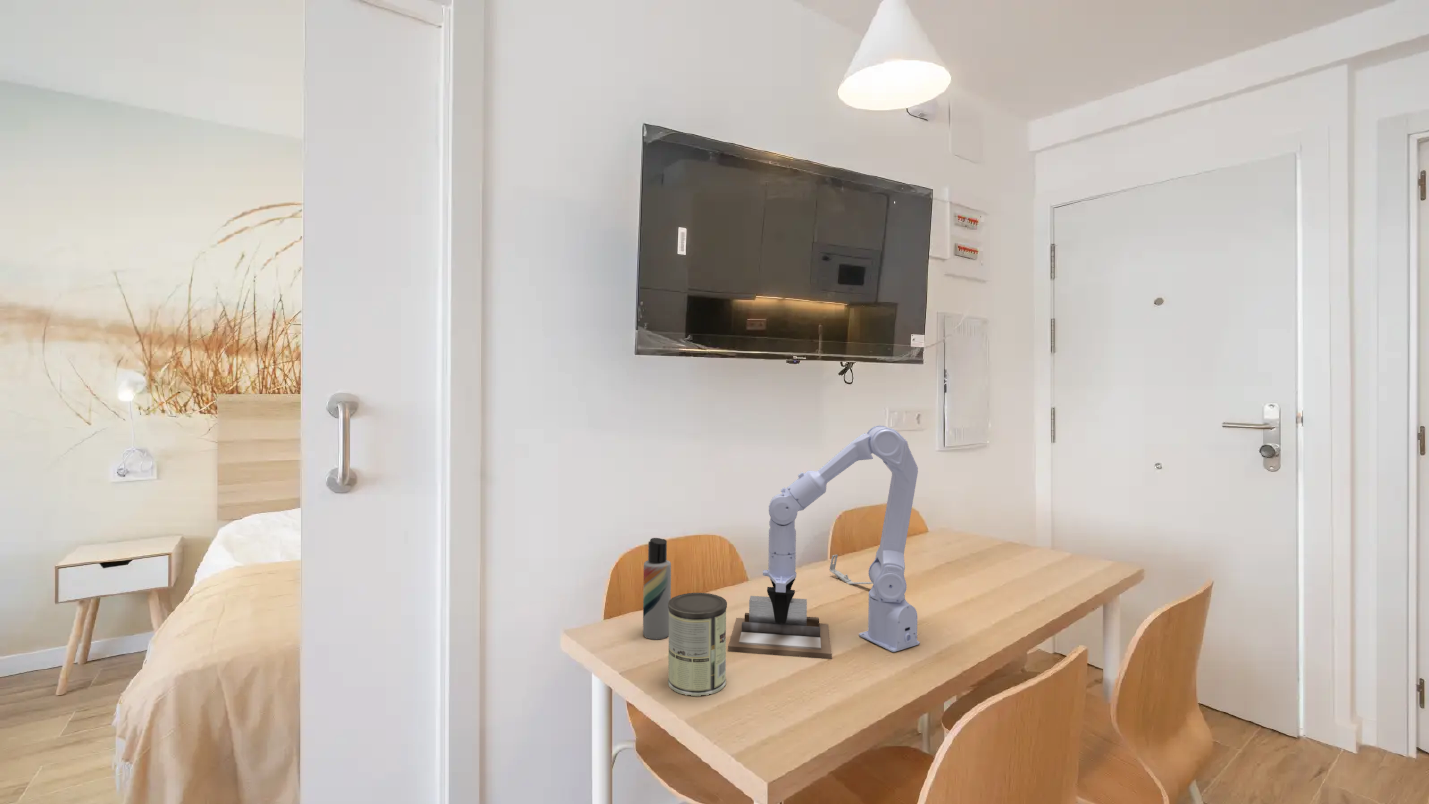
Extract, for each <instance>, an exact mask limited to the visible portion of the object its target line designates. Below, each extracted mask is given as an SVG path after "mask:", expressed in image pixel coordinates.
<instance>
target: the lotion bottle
mask: <svg viewBox="0 0 1429 804" xmlns="http://www.w3.org/2000/svg"><path fill="white" fill-rule="evenodd" d="M667 542H668V541H667V539H665V538H660V537H651V538H650V539H649V541H648V549H647V551H648V553H647V554H648V555H647V556H648V557H647V559H648V560H645V561H644V563H643V589H642V590H643V598H642V600H643V601H642V602H643V606H642V608H643V609H642V616H643V617H642V634H643V636H644V637H645V638H646V639H649V640H662V639H666V638H669V608H668V602H669V600H670V599H671V598H672V591H671V590H672V585H671V584H672V563H671V561H670V560H667V558H668V555H667V551H668V550H667V549H668V544H667Z"/></svg>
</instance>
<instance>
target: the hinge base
mask: <svg viewBox="0 0 1429 804" xmlns="http://www.w3.org/2000/svg"><path fill="white" fill-rule="evenodd" d="M829 627H830V626H829V623H821V622H820V617H817V616H807V626H796V625H781V624H767V623H752V622H749V612H745V613H744V617H736V618H735V622H734V625H733V628H732V632H731V635H730V639H729V643H728V644H727V645H728V646H727V652H732V653H733V652H735V653H736V652H737V653H747V654H748V653H750V654H759V653H760V654H761V655H772V654H773V655H774V656H776V655H777V656H786V655H788V656H789V657H799V656H801V657H800V658H812V659H813V658H814V659H815V658H816V659H828V660H833V659H832V658H833V652H832V644H831V635H830V628H829ZM773 655H772V656H773Z"/></svg>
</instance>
